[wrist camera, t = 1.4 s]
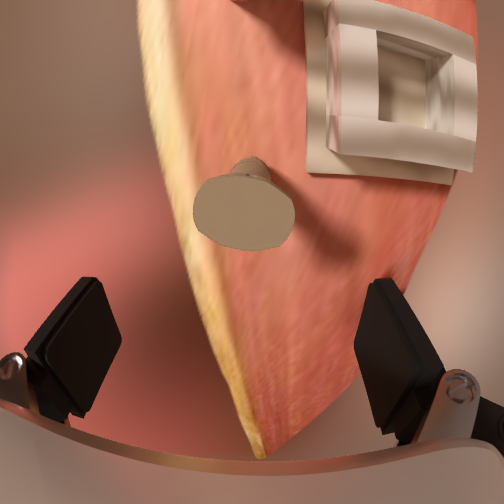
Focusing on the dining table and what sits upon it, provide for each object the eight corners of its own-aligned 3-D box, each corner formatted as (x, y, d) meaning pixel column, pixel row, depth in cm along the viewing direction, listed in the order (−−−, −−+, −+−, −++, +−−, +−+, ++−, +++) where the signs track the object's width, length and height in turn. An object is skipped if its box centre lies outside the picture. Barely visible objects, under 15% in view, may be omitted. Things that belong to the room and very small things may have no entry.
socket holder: (302, -6, 20) (311, -33, 14) (449, 30, 20) (481, 22, 13) (305, 170, 31) (316, 185, 24) (447, 182, 30) (479, 200, 23)
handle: (275, 195, 32) (283, 258, 19) (220, 184, 32) (189, 240, 18) (284, 155, 30) (303, 189, 17) (227, 144, 30) (198, 168, 16)
